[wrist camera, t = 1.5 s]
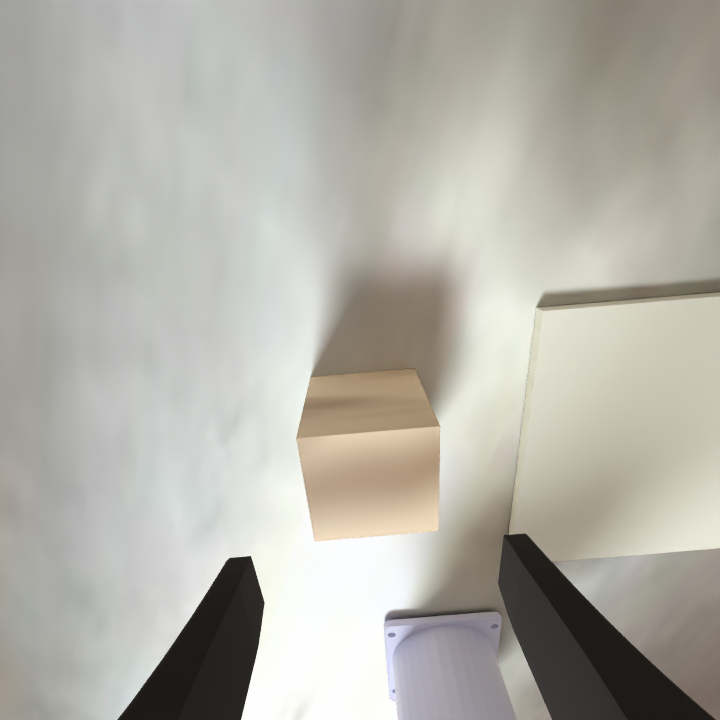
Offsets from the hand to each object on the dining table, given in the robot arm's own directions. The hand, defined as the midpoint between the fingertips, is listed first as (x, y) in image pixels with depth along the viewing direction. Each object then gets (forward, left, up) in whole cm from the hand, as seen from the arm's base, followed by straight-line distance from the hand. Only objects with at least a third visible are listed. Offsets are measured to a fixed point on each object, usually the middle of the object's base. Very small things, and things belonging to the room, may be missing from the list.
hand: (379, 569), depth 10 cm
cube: (0, 0, -8) cm, 8 cm away
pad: (-3, -16, -8) cm, 18 cm away
